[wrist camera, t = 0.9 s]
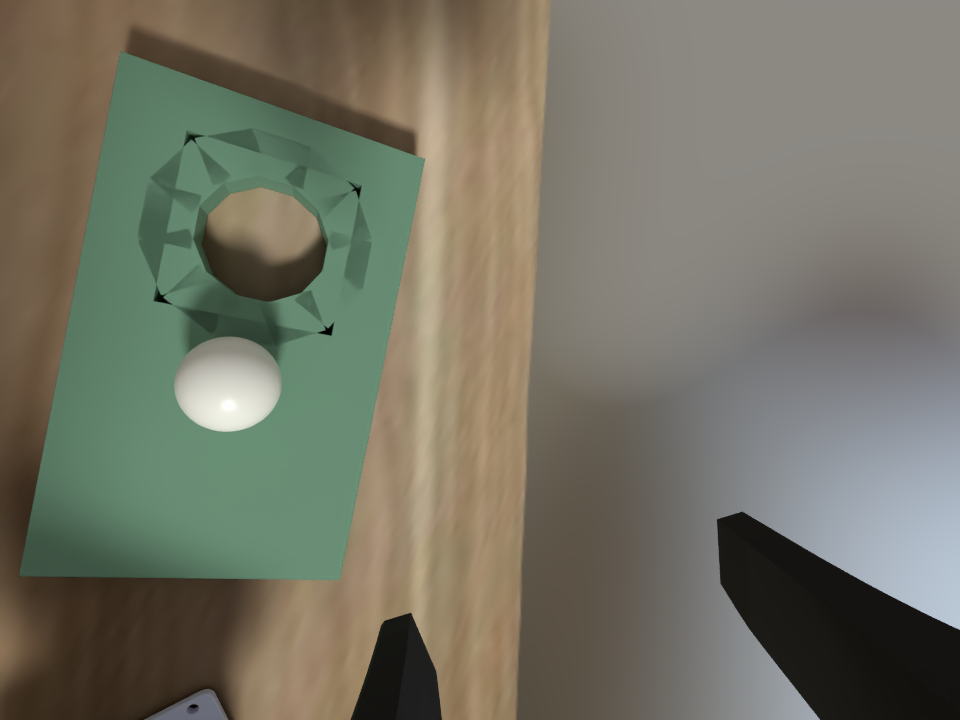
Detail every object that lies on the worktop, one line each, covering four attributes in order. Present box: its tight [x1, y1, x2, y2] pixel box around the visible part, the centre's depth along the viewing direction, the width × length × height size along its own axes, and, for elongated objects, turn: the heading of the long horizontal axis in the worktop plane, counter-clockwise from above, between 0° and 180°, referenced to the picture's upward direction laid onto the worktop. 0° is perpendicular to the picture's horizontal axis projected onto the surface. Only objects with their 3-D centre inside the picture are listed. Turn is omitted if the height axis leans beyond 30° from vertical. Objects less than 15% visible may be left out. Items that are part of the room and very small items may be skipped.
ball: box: [174, 337, 282, 432], centre depth 20 cm, size 4×4×4 cm
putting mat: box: [19, 51, 425, 580], centre depth 23 cm, size 22×13×2 cm, turn 167°
